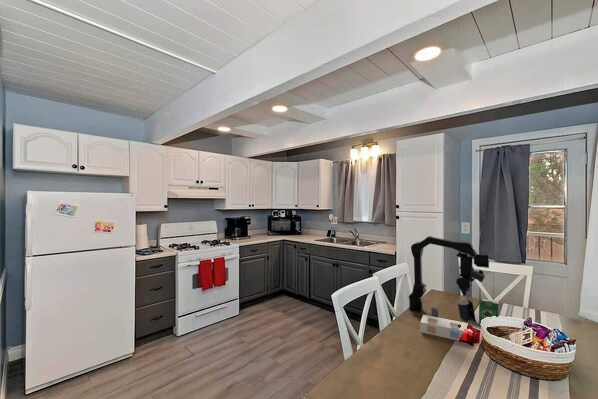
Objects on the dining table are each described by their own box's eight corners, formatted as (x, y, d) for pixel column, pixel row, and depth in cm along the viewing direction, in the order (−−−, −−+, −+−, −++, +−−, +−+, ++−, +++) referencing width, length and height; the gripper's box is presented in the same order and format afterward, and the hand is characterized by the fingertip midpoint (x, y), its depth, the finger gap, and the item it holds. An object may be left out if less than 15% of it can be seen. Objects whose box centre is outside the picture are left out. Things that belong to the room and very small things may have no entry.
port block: (420, 332, 138) (420, 321, 138) (423, 324, 147) (423, 314, 147) (467, 342, 128) (467, 331, 128) (467, 333, 137) (467, 322, 137)
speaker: (475, 316, 154) (472, 298, 154) (475, 321, 149) (473, 302, 149) (459, 315, 158) (457, 297, 158) (459, 320, 153) (457, 301, 153)
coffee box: (496, 326, 143) (496, 301, 143) (498, 329, 140) (498, 303, 140) (478, 324, 146) (478, 299, 145) (480, 327, 143) (480, 301, 143)
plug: (431, 323, 148) (431, 308, 148) (432, 320, 151) (432, 306, 151) (437, 324, 147) (437, 309, 147) (438, 322, 149) (438, 307, 149)
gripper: (481, 271, 139) (481, 302, 139) (486, 264, 153) (486, 292, 154) (456, 267, 146) (456, 297, 147) (463, 261, 161) (463, 288, 161)
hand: (466, 293), depth 152 cm, fingers open, 9 cm apart
